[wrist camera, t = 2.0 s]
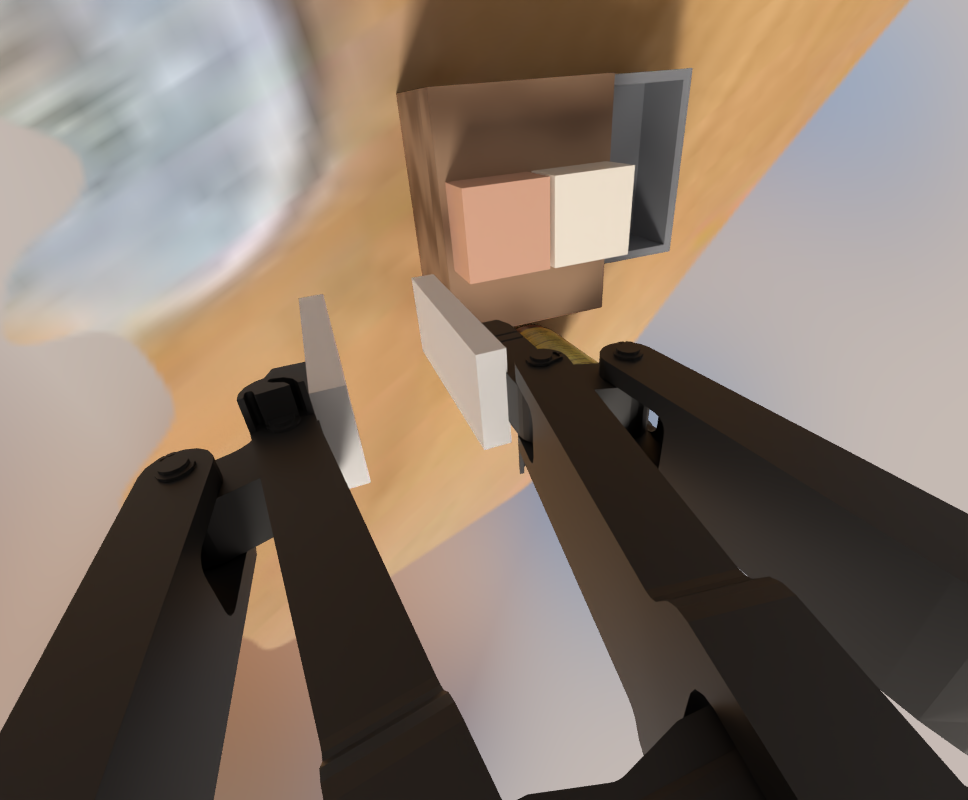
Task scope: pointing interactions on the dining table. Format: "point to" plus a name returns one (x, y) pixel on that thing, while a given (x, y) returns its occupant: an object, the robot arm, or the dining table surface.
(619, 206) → the cream tile
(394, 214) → the dining table surface
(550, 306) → the plate
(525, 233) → the salmon pink square block
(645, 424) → the robot arm
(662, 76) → the bin
